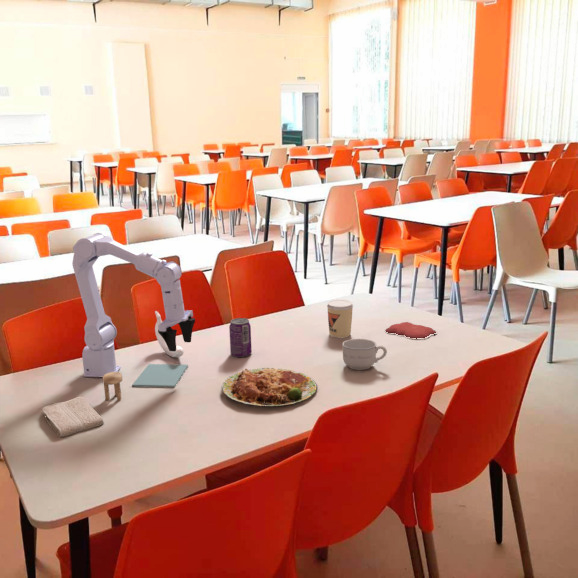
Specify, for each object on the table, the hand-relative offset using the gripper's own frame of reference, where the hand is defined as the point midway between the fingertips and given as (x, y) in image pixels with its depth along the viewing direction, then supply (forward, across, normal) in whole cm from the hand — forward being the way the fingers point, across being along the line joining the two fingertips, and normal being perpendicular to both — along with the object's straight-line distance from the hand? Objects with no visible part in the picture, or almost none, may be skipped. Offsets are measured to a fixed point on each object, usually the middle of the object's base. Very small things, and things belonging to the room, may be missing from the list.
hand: (180, 346), depth 188 cm
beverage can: (+12, +24, -5) cm, 27 cm away
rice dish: (+14, +4, -27) cm, 31 cm away
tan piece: (+9, -20, +11) cm, 24 cm away
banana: (+10, +14, +16) cm, 23 cm away
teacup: (+15, +31, -47) cm, 58 cm away
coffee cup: (+14, +56, -28) cm, 64 cm away
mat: (+10, -2, +8) cm, 13 cm away
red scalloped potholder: (+17, +69, -51) cm, 87 cm away
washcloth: (+10, -34, +12) cm, 38 cm away
